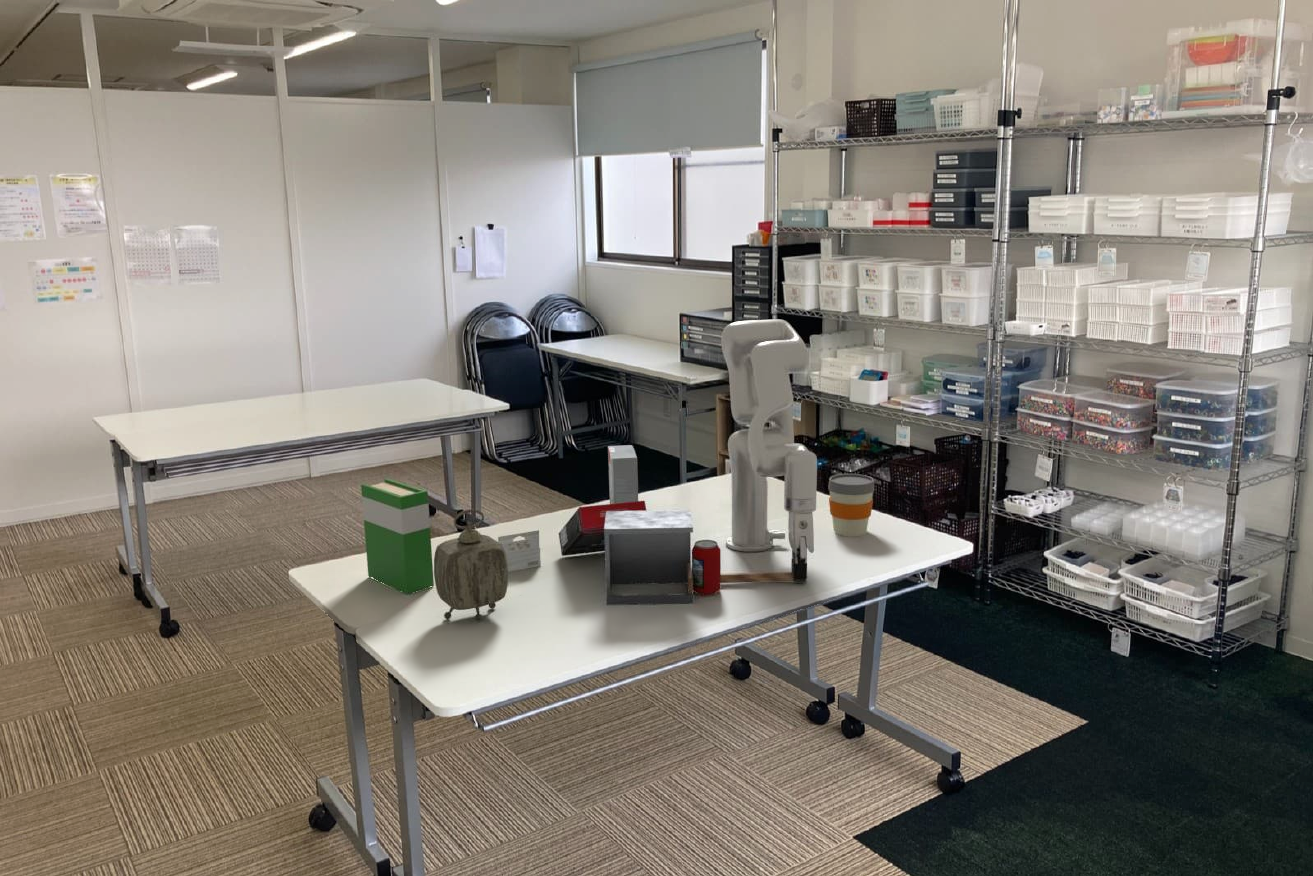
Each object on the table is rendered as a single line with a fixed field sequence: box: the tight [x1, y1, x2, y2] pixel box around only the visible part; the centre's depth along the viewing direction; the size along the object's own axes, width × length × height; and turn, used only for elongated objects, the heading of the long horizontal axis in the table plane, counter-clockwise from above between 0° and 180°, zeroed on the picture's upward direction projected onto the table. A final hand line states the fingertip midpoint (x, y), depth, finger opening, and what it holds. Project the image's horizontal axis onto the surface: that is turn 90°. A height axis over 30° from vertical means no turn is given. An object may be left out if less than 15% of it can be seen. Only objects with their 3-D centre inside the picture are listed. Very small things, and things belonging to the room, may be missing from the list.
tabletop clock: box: [433, 508, 509, 622], centre depth 228 cm, size 14×9×25 cm, turn 123°
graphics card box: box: [558, 500, 647, 557], centre depth 262 cm, size 17×7×27 cm
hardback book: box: [360, 478, 435, 596], centre depth 252 cm, size 18×7×24 cm, turn 46°
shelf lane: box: [604, 509, 695, 606], centre depth 242 cm, size 20×14×18 cm
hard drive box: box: [607, 444, 639, 504], centre depth 302 cm, size 16×8×20 cm, turn 6°
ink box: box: [497, 529, 542, 573], centre depth 261 cm, size 2×11×10 cm, turn 117°
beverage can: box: [691, 539, 722, 596], centre depth 243 cm, size 7×7×12 cm
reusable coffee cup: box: [827, 473, 875, 537], centre depth 286 cm, size 13×13×15 cm
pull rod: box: [686, 549, 807, 595], centre depth 244 cm, size 28×11×8 cm, turn 91°
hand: (799, 576), depth 249 cm, fingers closed on pull rod, 2 cm apart
